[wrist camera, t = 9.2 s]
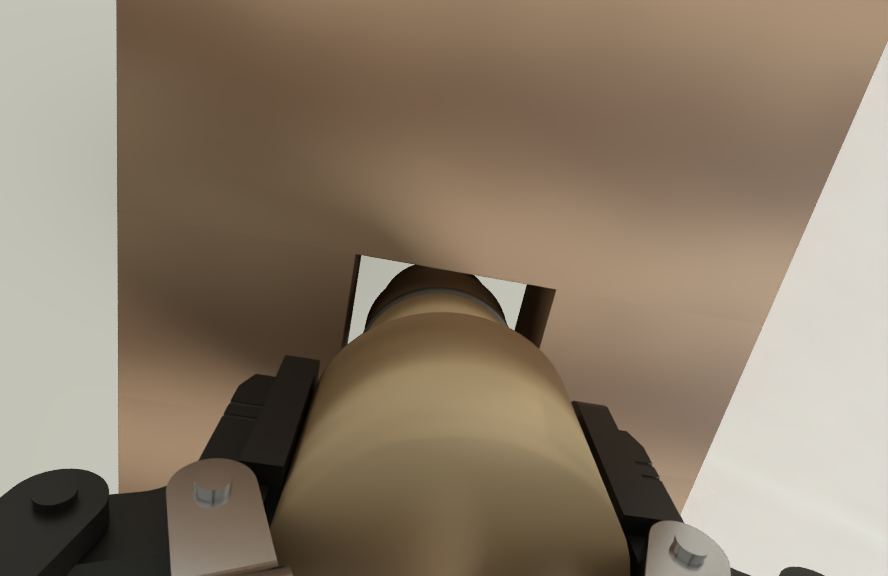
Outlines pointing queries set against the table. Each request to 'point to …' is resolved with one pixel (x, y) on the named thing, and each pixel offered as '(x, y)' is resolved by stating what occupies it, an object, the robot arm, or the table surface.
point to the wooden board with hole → (470, 189)
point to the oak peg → (444, 451)
